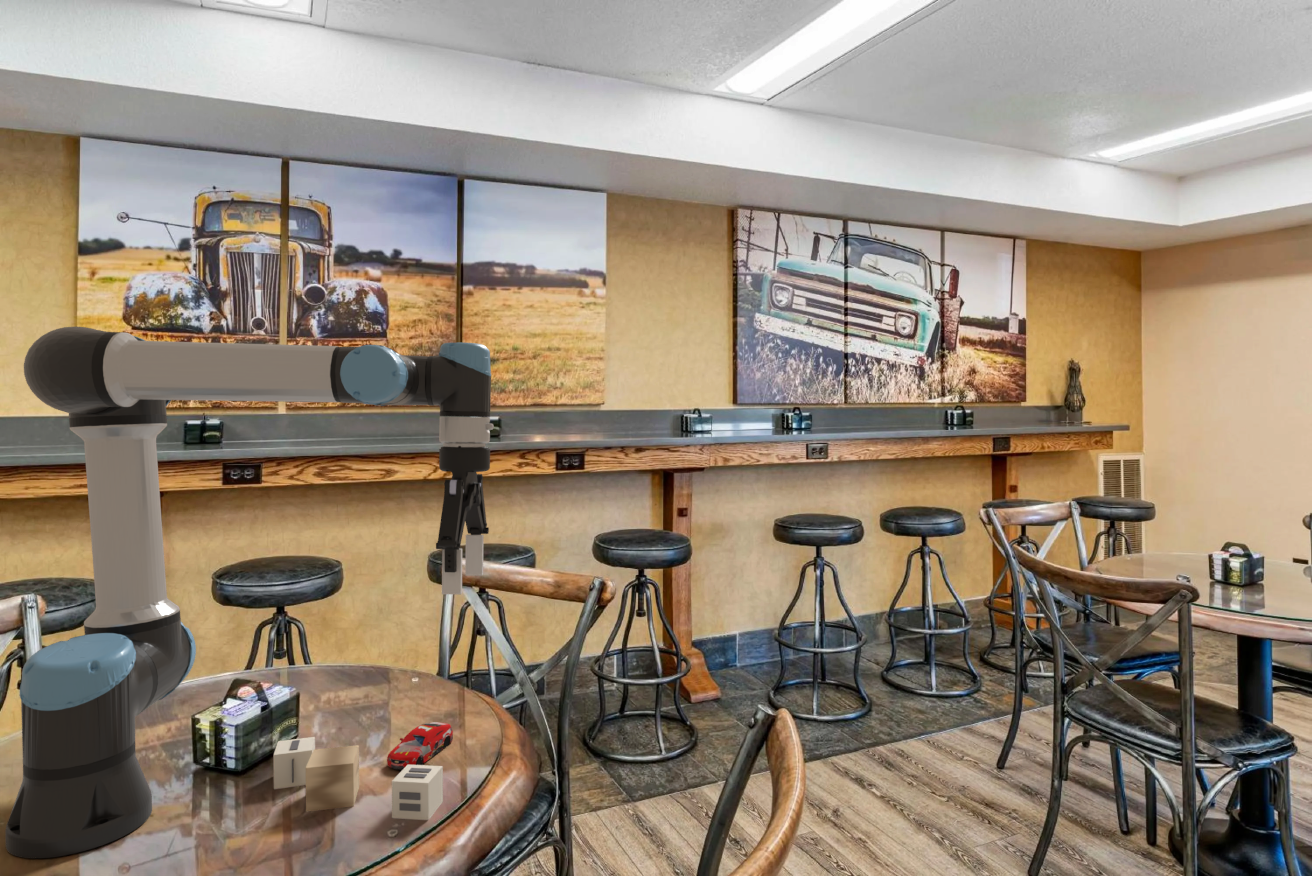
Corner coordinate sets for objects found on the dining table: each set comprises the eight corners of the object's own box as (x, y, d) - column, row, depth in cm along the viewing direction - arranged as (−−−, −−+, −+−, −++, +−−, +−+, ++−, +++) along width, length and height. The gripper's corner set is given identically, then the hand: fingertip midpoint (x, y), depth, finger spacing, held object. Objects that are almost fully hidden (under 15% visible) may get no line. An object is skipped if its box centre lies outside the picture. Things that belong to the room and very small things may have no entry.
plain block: (306, 812, 104) (305, 768, 104) (314, 791, 110) (313, 749, 110) (353, 807, 106) (353, 763, 105) (359, 786, 111) (359, 745, 111)
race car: (410, 777, 115) (410, 750, 115) (379, 771, 117) (379, 745, 117) (459, 741, 128) (459, 717, 127) (430, 737, 129) (430, 713, 129)
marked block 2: (391, 819, 102) (391, 780, 102) (408, 800, 107) (407, 763, 107) (428, 821, 102) (427, 782, 102) (442, 802, 107) (442, 765, 107)
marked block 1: (273, 791, 110) (272, 755, 110) (278, 774, 115) (278, 740, 115) (311, 786, 111) (311, 750, 111) (315, 769, 117) (314, 735, 117)
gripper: (469, 448, 106) (468, 603, 106) (505, 443, 131) (504, 568, 131) (414, 447, 106) (413, 602, 106) (461, 442, 131) (460, 568, 131)
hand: (463, 584), depth 119 cm, fingers open, 13 cm apart
